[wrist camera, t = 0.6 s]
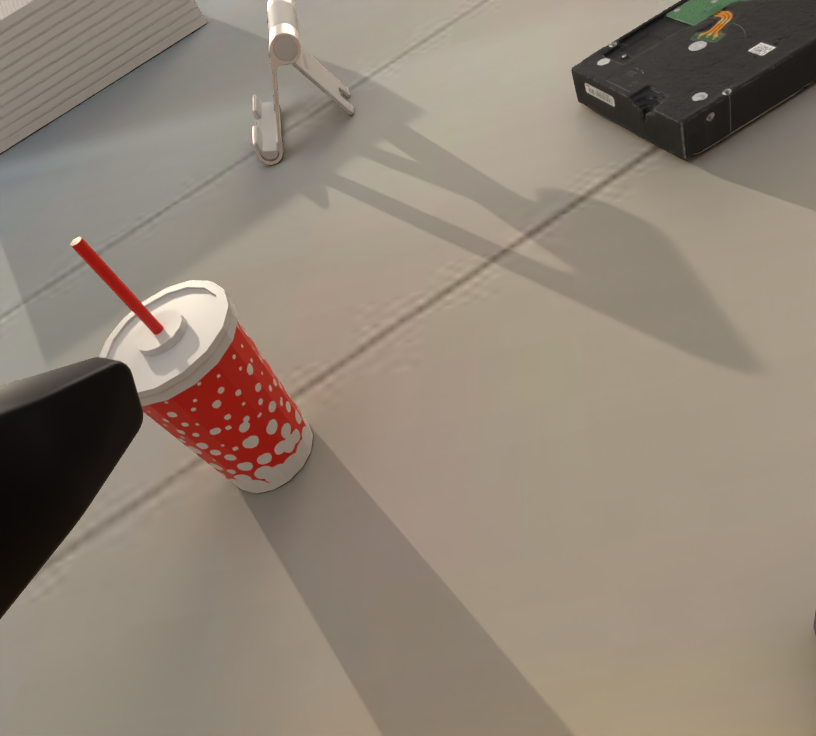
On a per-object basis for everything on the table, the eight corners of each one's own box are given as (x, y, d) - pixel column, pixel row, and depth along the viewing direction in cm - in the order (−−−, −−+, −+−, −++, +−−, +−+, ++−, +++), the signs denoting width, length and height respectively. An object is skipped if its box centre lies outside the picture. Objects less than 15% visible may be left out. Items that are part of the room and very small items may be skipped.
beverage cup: (348, 450, 33) (170, 222, 23) (241, 533, 32) (10, 333, 22) (296, 382, 37) (129, 166, 27) (201, 454, 36) (-7, 257, 26)
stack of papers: (-26, 170, 80) (-108, 86, 73) (-28, 142, 88) (-103, 63, 80) (207, 23, 83) (152, -73, 76) (186, 7, 91) (134, -81, 83)
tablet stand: (263, 119, 60) (209, 25, 54) (346, 80, 59) (300, -21, 53) (265, 169, 54) (204, 70, 48) (358, 127, 53) (307, 20, 47)
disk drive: (689, 170, 37) (919, 20, 37) (684, 125, 35) (928, -33, 35) (575, 109, 44) (769, -16, 44) (566, 68, 42) (768, -62, 42)
